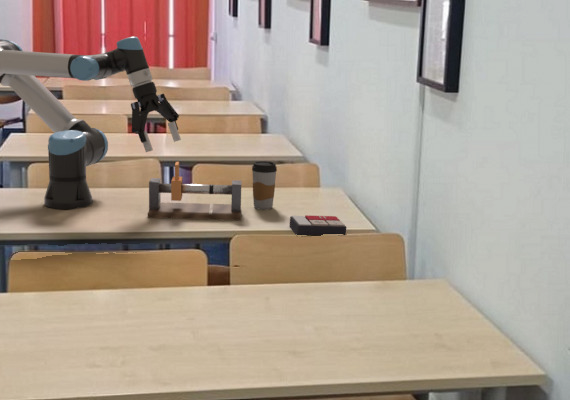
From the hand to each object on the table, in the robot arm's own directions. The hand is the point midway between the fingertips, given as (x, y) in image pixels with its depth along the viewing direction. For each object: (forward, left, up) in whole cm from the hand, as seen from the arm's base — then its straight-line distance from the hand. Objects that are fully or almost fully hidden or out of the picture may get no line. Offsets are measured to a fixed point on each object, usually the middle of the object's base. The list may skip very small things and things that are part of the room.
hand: (163, 146), depth 271 cm
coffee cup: (+33, -3, -19) cm, 39 cm away
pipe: (+11, -13, -18) cm, 25 cm away
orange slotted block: (+5, -13, -14) cm, 20 cm away
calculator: (+49, -30, -20) cm, 61 cm away
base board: (+11, -13, -19) cm, 26 cm away
